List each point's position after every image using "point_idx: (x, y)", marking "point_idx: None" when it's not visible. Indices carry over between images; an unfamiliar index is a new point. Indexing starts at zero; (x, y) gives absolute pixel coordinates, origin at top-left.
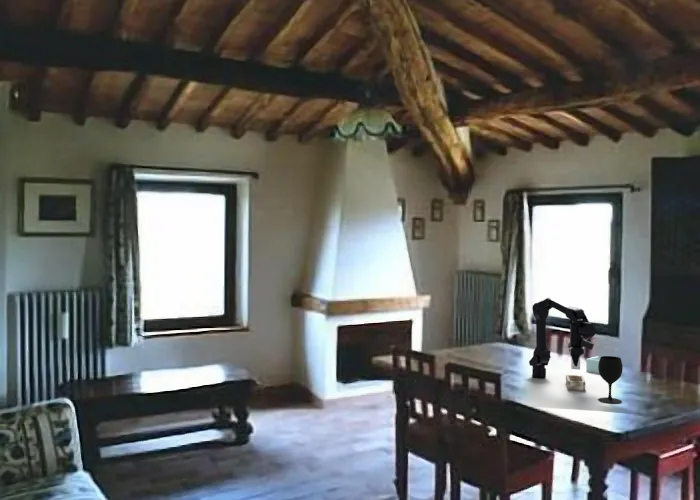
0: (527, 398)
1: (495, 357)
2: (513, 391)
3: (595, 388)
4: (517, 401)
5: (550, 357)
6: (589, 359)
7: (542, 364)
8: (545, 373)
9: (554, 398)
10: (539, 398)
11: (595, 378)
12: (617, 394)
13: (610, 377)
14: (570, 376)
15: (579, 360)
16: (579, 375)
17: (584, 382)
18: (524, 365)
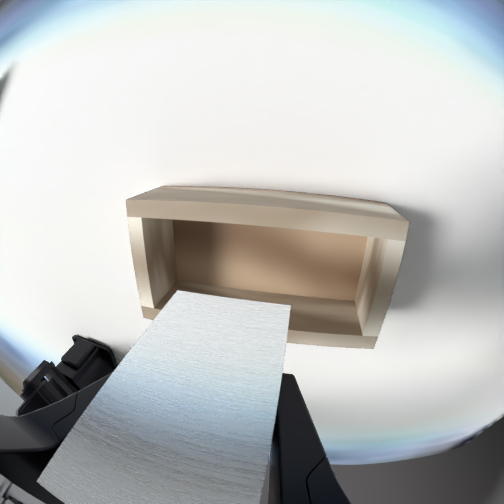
0: (457, 425)
1: (2, 358)
2: (367, 455)
3: (273, 103)
4: (472, 433)
5: (38, 393)
6: None
7: (66, 386)
8: (88, 354)
9: (487, 367)
10: (469, 403)
11: (31, 115)
12: (425, 17)
13: None
14: (155, 289)
15: (273, 428)
16: (129, 223)
17: (405, 228)
18: (9, 334)
